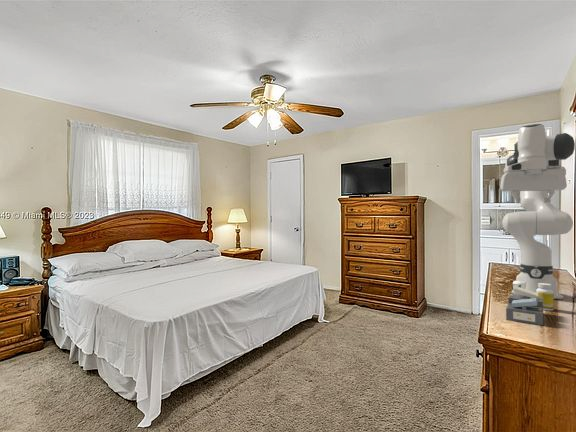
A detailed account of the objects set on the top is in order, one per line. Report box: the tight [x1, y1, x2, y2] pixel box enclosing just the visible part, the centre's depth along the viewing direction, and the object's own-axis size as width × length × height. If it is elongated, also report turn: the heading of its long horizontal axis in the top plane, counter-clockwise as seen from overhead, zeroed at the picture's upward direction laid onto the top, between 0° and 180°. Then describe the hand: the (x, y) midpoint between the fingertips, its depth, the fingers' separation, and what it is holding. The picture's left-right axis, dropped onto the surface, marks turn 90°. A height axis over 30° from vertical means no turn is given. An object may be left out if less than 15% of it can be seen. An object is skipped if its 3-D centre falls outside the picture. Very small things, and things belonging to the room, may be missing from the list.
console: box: [505, 292, 544, 327], centre depth 116 cm, size 18×10×7 cm, turn 141°
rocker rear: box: [514, 286, 538, 299], centre depth 119 cm, size 6×7×1 cm
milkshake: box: [512, 280, 528, 295], centre depth 135 cm, size 5×5×10 cm
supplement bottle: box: [536, 283, 555, 311], centre depth 126 cm, size 5×5×10 cm
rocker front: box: [512, 298, 538, 307], centre depth 112 cm, size 6×7×1 cm
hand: (532, 202), depth 121 cm, fingers open, 8 cm apart
